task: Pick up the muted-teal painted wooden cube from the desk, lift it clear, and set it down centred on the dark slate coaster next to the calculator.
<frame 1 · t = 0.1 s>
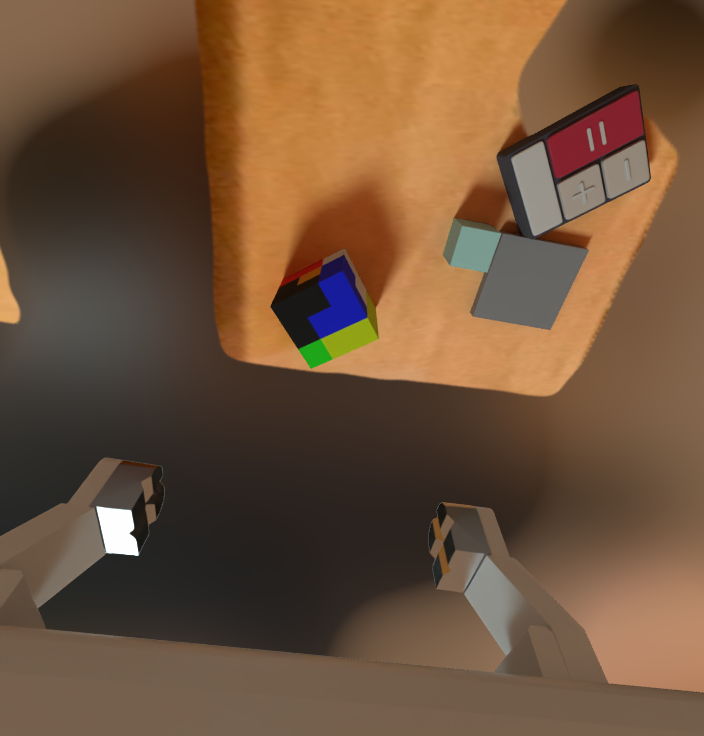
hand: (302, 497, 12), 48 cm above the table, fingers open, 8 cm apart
calculator: (566, 166, 51), on the table
slate coaster: (524, 281, 58), on the table
teal cube: (465, 240, 55), on the table
puzzle toy: (330, 293, 59), on the table
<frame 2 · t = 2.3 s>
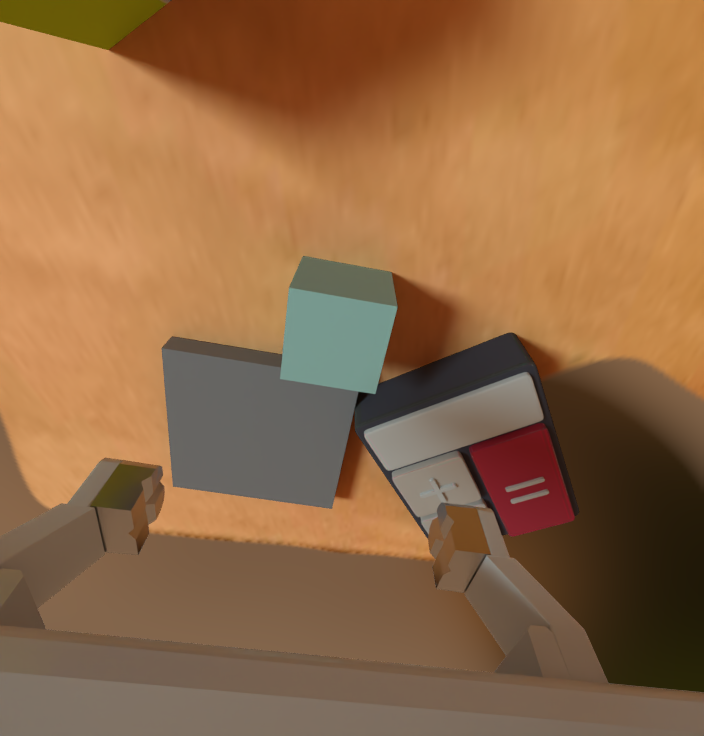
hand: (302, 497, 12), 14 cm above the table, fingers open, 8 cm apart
calculator: (465, 439, 30), on the table
slate coaster: (262, 424, 29), on the table
teal cube: (340, 304, 24), on the table
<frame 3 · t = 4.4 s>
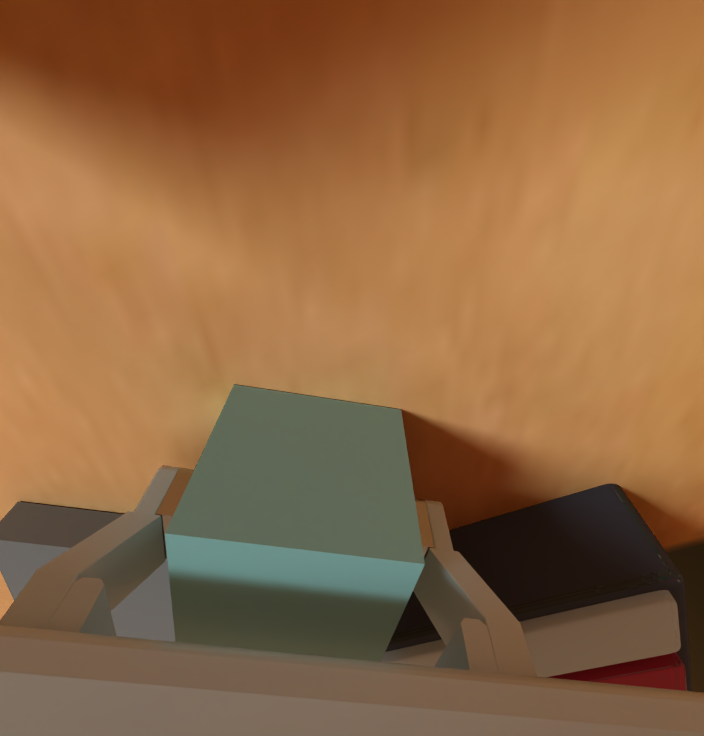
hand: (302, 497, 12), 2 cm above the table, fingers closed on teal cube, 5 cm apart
calculator: (512, 608, 19), on the table
slate coaster: (192, 608, 18), on the table
teal cube: (308, 458, 13), on the table, touching gripper
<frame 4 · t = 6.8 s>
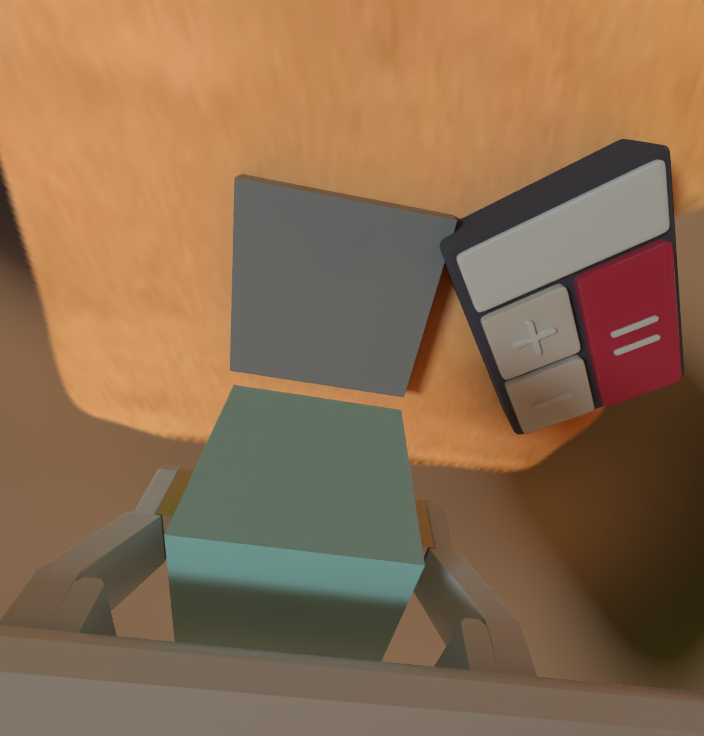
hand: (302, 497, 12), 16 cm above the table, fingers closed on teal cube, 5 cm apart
calculator: (551, 297, 27), on the table, touching slate coaster
slate coaster: (332, 294, 26), on the table
teal cube: (308, 458, 13), point 15 cm above the table, touching gripper
when the fingers open (5 cm above the table, at t = 9.6 s): teal cube drops 1 cm, resting on slate coaster.
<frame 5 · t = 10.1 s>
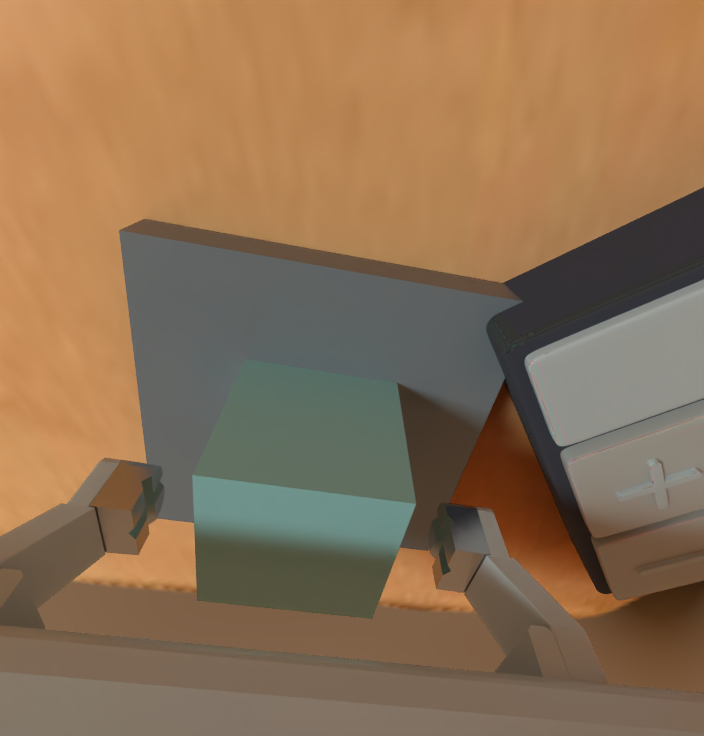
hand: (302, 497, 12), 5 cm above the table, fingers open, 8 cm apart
calculator: (663, 388, 16), on the table
slate coaster: (315, 405, 16), on the table
teal cube: (313, 429, 15), point 1 cm above the table, touching slate coaster
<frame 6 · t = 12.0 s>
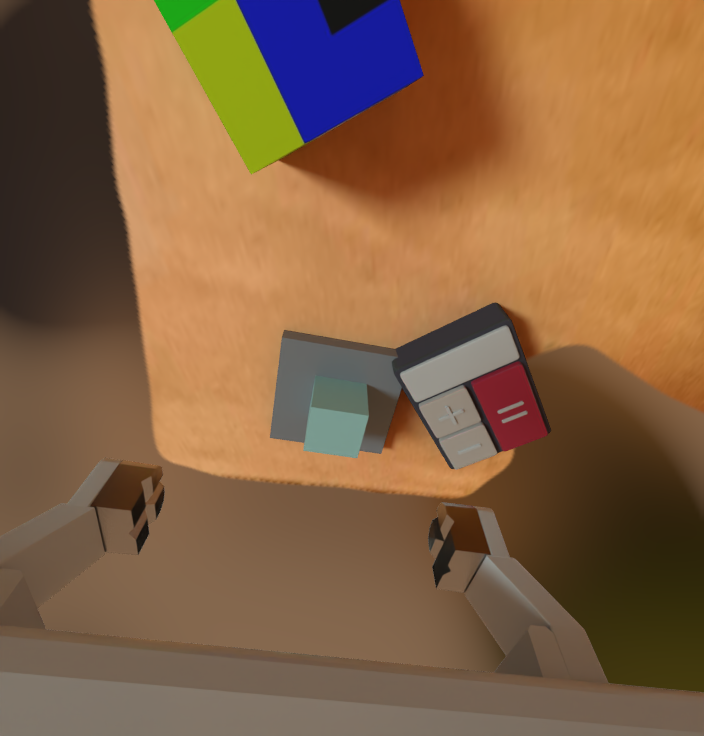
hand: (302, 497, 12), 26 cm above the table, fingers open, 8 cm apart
calculator: (467, 383, 42), on the table, touching slate coaster
slate coaster: (336, 392, 41), on the table
teal cube: (336, 400, 40), point 1 cm above the table, touching slate coaster
puzzle toy: (304, 48, 27), on the table
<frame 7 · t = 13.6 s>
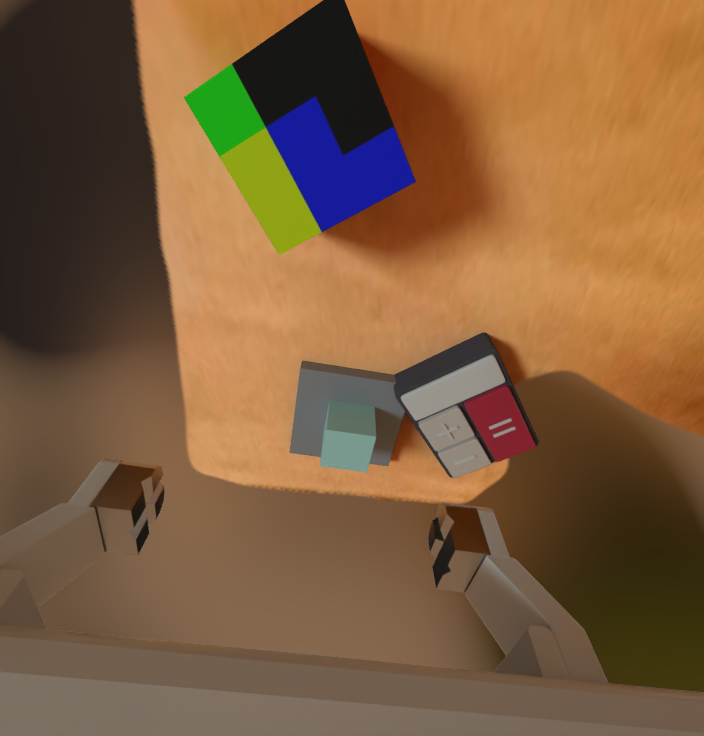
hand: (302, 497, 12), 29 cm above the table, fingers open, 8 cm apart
calculator: (463, 401, 47), on the table, touching slate coaster
slate coaster: (348, 412, 47), on the table
teal cube: (348, 420, 46), point 1 cm above the table, touching slate coaster
puzzle toy: (318, 135, 33), on the table
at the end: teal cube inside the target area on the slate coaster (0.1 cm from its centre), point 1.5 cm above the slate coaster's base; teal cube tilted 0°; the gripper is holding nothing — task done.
